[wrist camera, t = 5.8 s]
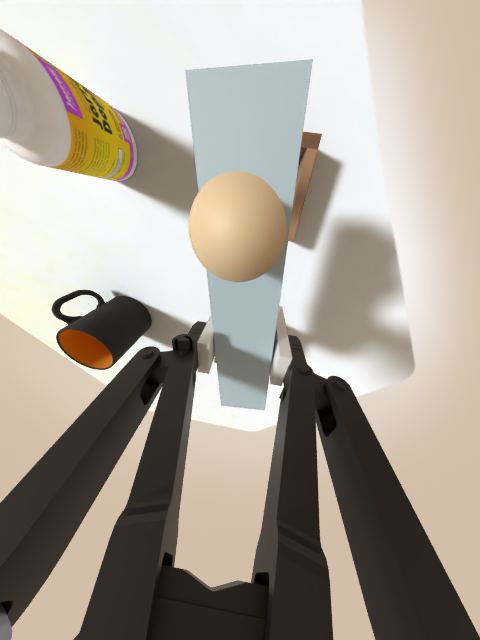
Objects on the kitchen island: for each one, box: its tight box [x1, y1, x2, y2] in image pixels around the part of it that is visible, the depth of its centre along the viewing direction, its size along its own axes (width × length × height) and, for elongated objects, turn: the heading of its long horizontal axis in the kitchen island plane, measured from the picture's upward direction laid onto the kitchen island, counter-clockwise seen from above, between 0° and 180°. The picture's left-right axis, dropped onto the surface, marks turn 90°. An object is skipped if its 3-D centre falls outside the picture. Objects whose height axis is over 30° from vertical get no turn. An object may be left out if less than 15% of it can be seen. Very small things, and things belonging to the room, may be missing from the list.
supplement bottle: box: [0, 29, 137, 181], centre depth 15 cm, size 7×7×13 cm
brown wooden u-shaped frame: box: [288, 132, 322, 242], centre depth 19 cm, size 9×8×4 cm
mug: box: [52, 290, 151, 370], centre depth 29 cm, size 8×12×10 cm
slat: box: [185, 59, 313, 410], centre depth 12 cm, size 19×4×9 cm, turn 0°
